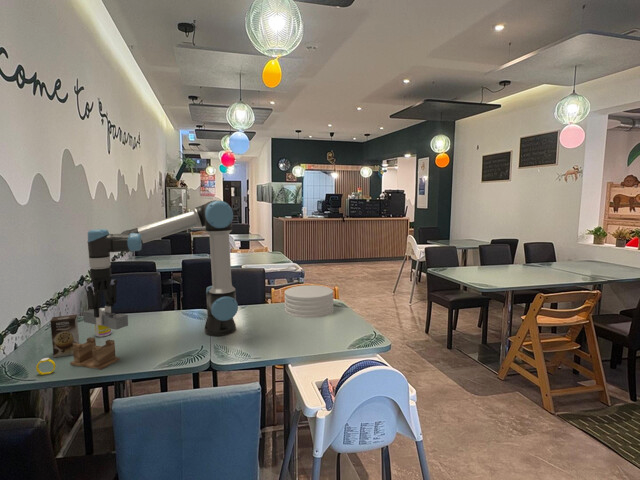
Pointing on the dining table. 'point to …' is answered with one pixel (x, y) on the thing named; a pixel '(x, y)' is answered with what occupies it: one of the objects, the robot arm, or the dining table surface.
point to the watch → (45, 361)
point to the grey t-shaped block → (107, 319)
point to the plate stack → (308, 301)
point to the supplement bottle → (102, 329)
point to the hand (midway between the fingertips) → (104, 322)
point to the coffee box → (64, 334)
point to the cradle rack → (94, 354)
